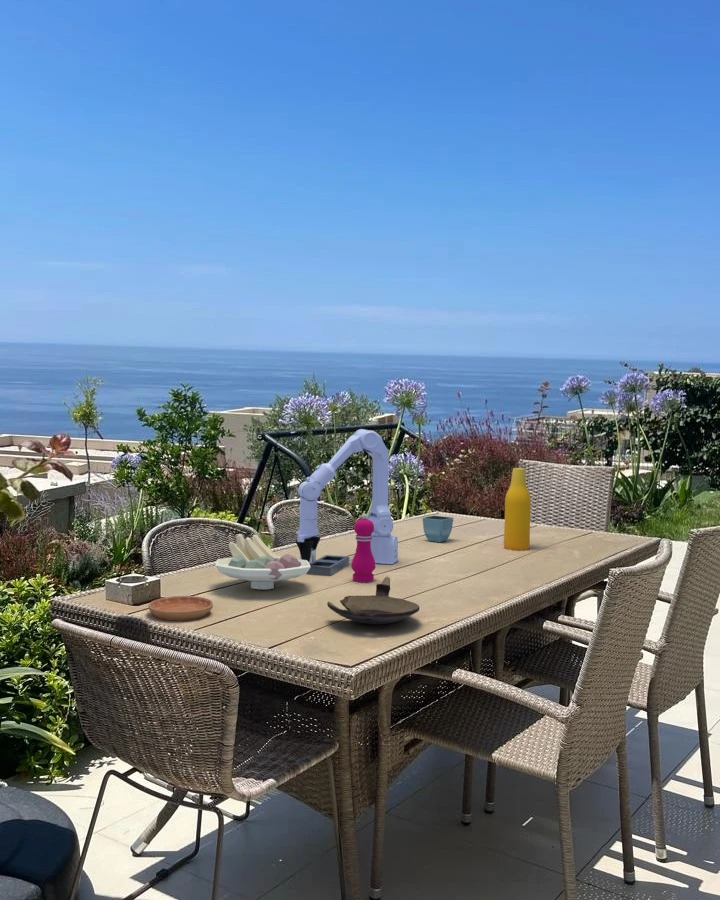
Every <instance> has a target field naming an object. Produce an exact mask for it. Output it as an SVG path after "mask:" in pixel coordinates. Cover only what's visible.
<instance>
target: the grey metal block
mask: <svg viewBox="0 0 720 900" xmlns="http://www.w3.org/2000/svg"><path fill="white" fill-rule="evenodd" d="M299 559H301V555H300V554H299ZM316 560H317V548H316V549H313V548H311V552H310V559H309V564H310V563H312V562H314V561H316Z"/></svg>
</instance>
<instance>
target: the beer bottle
mask: <svg viewBox="0 0 720 900" xmlns="http://www.w3.org/2000/svg"><path fill="white" fill-rule="evenodd" d="M531 504H532V498H531V494H530V492H529V490H528V487H527V480H526V469H525V468H524V467H522V468H520V467H514V468H512V473H511V481H510V485H509V487H508V489H507V492H506V495H505V500H504V523H503V524H504V526H503V527H504V529H503V533H504V534H503V546H504V547H503V548H504V549H506V550H509V549H512V550H511V551H527V550H529V549H530V545H531V544H530V543H531V541H530V540H531V539H530V537H531V536H530V535H531V532H530V531H531Z"/></svg>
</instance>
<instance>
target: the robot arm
mask: <svg viewBox="0 0 720 900" xmlns="http://www.w3.org/2000/svg"><path fill="white" fill-rule="evenodd" d="M363 451H365V452H366V453H367V454H368V455H369V456H370V457H371V458H372V488H371V489H372V495H371V496H372V497H371V498H372V500H371V506H370V509H369V515H368V516H367V519H368V520H370V521H372V522H373V524H374V531H373V533H372V534H371V535H372V540H371V551H372V555H373V557H374V560H375V564H381V565H382V564H383V565H394V564H395V563H396V562H398V561H399V557H398V555H399V554H398V553H399V541H398V540H399V539H398V536H397V535H392V532H393V530H394V522H393V520H392V513H391V510H390V507H389V477H390V476H389V475H390V474H389V473H390V472H389V470H390V469H389V468H390V467H389V466H390V454H389V453H390V452H389V450H388V449H387V446H386V445H385V443H384V441H383V437H382V436H381V435H380V434H379V433H377V432H376V431H374V430H370V429H369V430H368V429H364V428H360V429H357V430H356V431H355V432H354V433H353V434H352V435H351V436H349V437H348V439H347V440H346V441H345V443H344V444H342V446H341V447H340V448H339V449H338V451H337V452H336V453H335V454H334V455H333V457H331V459H330V460H329V461H328V462H326V463H321V464H318V465H316V467H315V470H314V471H313V473H312V474H311V475H310V476H307V477H306V478H305V479H306V480H305V481H303V482H301V483H300V484H299V486H298V489H297V494H298V496H299V529H298V530H297V531H296V532H295V534H296V535H297V539H296V540H295V544H296V546H297V548H298V550H299V556H300V555H301V559H302V560H307V561H308V562H309V559H310V552H311V548H313V549H316V550H317V547H318V544H319V542H320V540H321V537H319V532H320V529H318V507H319V506H318V498H319V497H320V495H321V491H323V489H324V488H325V487H326V486H327V485H328V484H329V483H330V482H331V480H333V479H334V478H335V476H336V470H337V469H338V468H339V467H340V466H341V465H342V464H343V463H344V462H345V461H346V460H347V459H349V457H350V456H351V455H353V454H355V453H360V452H363Z"/></svg>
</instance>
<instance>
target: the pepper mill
mask: <svg viewBox="0 0 720 900" xmlns="http://www.w3.org/2000/svg"><path fill="white" fill-rule="evenodd" d="M353 529H354V530H353V531H354V532H355V533H356V535H355V541H356V549H355V553H354V555H353V558H352V560H351V569H352V571H353V574H352V581H353V582H356V583H357V582H358V583H370V582H374V580H375V579H374V577H375V574H374V573H373V572H374V571H375V569H376V563H375V560H374V557H373V555H372V551H371V540H372V535H371V534H372V533H373V531H374V524H373V522H372V521H370V520H368V515H367V514H366V513H362V514H361V517H360V519H358V520H356V522H355V523H354V525H353Z"/></svg>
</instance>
